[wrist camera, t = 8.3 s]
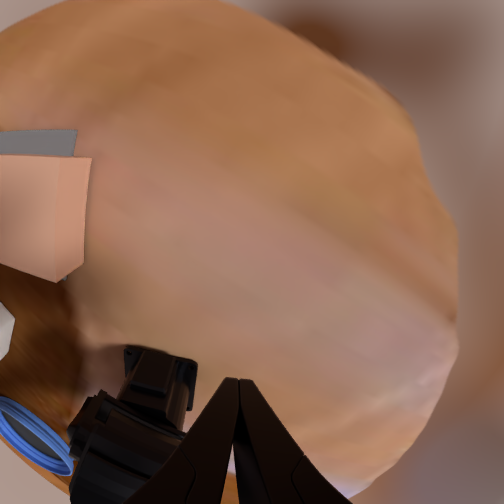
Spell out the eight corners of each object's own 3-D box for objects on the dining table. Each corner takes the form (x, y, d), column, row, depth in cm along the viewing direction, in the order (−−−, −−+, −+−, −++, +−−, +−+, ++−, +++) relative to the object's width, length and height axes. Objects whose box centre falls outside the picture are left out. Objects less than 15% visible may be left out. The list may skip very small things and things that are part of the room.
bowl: (60, 467, 31) (55, 479, 27) (-9, 407, 27) (-17, 418, 23) (93, 455, 28) (86, 471, 25) (2, 377, 24) (-10, 391, 20)
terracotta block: (56, 282, 15) (-23, 253, 14) (83, 263, 19) (4, 241, 18) (60, 157, 13) (-23, 155, 12) (91, 157, 16) (8, 153, 16)
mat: (66, 279, 19) (64, 280, 19) (-8, 253, 18) (-11, 255, 18) (77, 130, 16) (74, 129, 16) (-3, 132, 15) (-6, 132, 15)
